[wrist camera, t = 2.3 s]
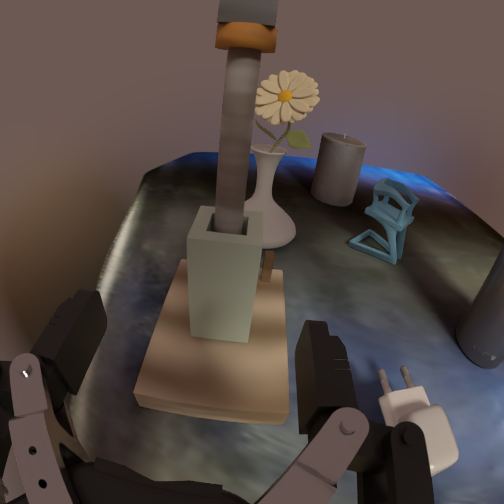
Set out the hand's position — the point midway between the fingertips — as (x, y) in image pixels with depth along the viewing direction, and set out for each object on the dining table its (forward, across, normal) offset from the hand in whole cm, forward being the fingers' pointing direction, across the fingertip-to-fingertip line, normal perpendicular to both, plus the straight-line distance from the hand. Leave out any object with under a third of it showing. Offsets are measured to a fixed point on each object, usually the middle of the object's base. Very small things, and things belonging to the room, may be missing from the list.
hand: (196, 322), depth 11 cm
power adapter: (+1, -16, +15) cm, 22 cm away
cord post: (+12, 0, +15) cm, 19 cm away
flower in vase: (+32, -4, +14) cm, 35 cm away
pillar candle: (+53, -19, +14) cm, 58 cm away
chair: (+32, -24, +14) cm, 42 cm away
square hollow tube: (+12, 0, +12) cm, 16 cm away
